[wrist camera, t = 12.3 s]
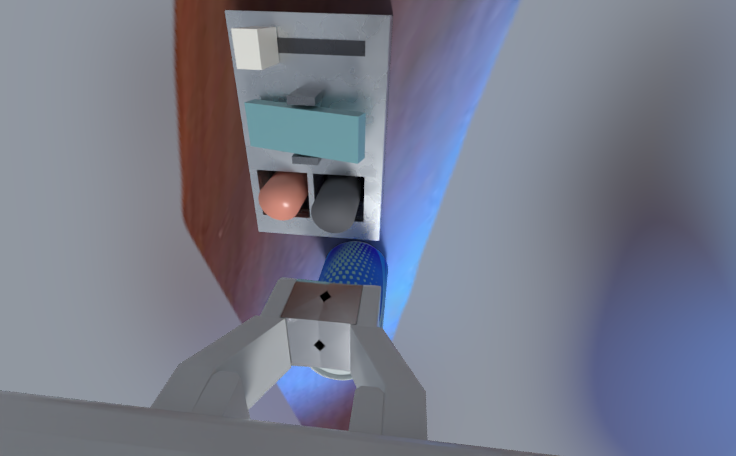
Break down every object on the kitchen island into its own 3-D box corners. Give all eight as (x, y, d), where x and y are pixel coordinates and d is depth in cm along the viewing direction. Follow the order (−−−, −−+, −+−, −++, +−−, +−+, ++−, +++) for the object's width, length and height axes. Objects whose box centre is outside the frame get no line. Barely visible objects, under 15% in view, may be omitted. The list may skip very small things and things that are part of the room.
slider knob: (253, 26, 31) (230, 28, 27) (275, 26, 30) (257, 29, 27) (257, 62, 32) (236, 68, 28) (279, 63, 32) (261, 70, 28)
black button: (322, 169, 40) (309, 192, 34) (362, 171, 39) (355, 195, 34) (324, 204, 42) (312, 231, 37) (361, 207, 42) (354, 234, 36)
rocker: (255, 99, 33) (244, 102, 32) (365, 112, 30) (358, 116, 29) (260, 141, 35) (250, 146, 34) (364, 158, 32) (358, 163, 31)
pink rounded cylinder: (274, 160, 42) (255, 181, 36) (312, 162, 41) (298, 184, 36) (278, 194, 44) (261, 218, 39) (314, 197, 43) (301, 221, 38)
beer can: (330, 285, 51) (301, 383, 38) (323, 235, 47) (287, 326, 34) (389, 286, 50) (381, 388, 37) (387, 236, 46) (377, 330, 33)
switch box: (247, 10, 35) (205, 10, 27) (392, 15, 34) (388, 15, 26) (272, 211, 46) (247, 247, 39) (381, 219, 45) (376, 258, 38)
